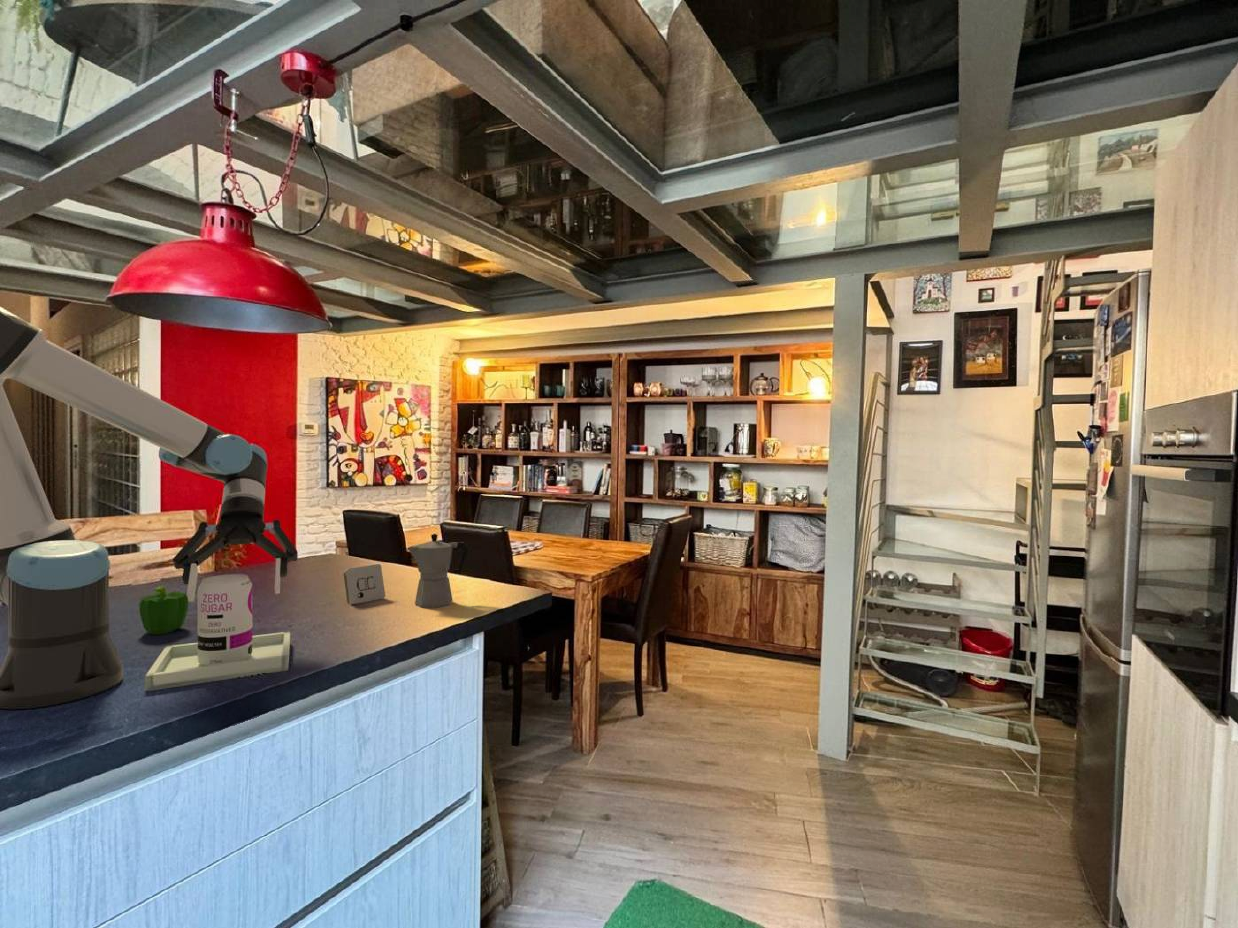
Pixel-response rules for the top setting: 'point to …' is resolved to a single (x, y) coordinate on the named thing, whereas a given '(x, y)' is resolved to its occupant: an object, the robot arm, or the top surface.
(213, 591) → the supplement can
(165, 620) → the bell pepper
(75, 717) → the top surface
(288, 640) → the tray
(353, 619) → the top surface
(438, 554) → the coffeepot
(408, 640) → the top surface
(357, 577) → the electrical switch
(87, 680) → the robot arm
